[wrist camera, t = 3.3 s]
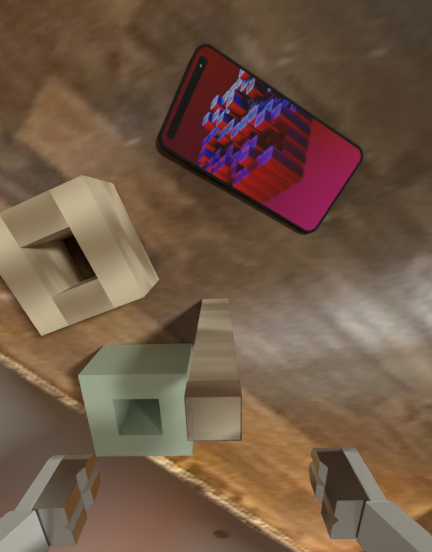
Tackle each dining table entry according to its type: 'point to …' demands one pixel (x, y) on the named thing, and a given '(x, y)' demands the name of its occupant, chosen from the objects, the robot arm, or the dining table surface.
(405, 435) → the dining table surface
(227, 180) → the smartphone
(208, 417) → the brown wooden bar
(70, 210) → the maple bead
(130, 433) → the green square-hole block
